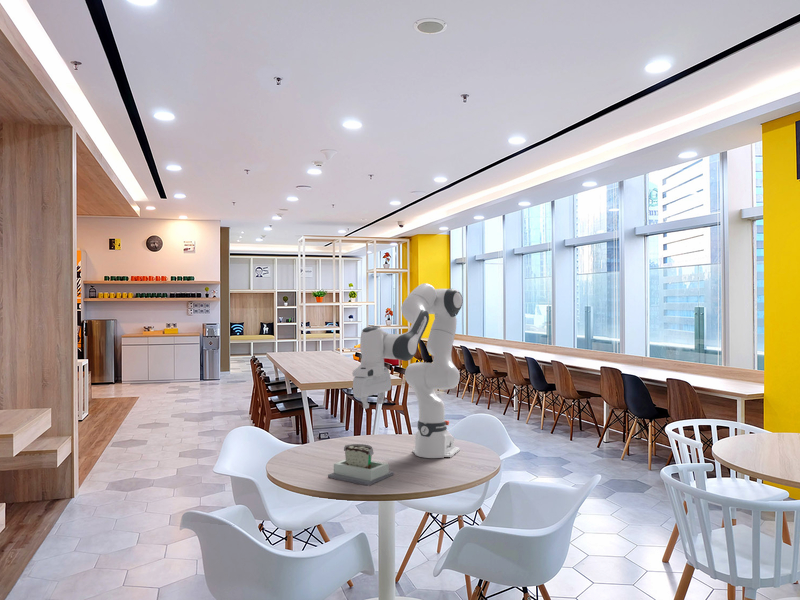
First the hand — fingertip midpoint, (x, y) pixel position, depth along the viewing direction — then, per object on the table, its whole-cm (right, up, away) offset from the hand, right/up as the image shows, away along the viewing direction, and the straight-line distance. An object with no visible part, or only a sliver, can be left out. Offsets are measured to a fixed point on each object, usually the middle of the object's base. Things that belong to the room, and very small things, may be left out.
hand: (373, 406), depth 204 cm
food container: (-4, -24, -5) cm, 25 cm away
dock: (-4, -25, -5) cm, 26 cm away
